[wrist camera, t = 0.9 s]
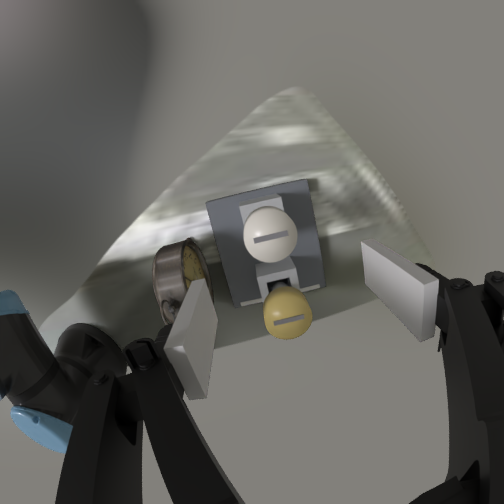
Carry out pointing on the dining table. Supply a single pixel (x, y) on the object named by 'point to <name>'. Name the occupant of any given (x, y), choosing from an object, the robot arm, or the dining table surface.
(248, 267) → the mount
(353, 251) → the dining table surface
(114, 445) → the robot arm
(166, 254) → the alarm clock
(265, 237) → the knob ivory
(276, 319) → the knob mustard
